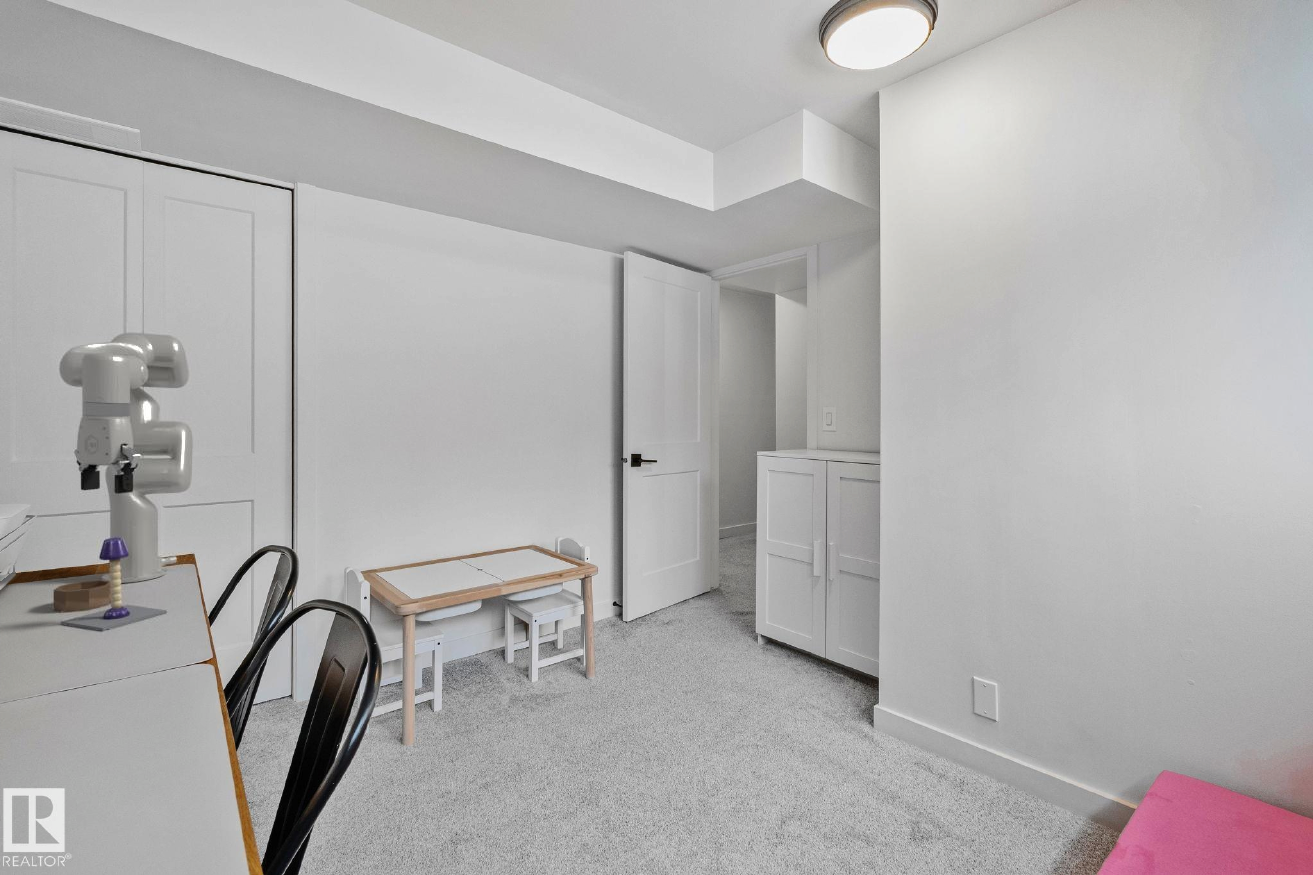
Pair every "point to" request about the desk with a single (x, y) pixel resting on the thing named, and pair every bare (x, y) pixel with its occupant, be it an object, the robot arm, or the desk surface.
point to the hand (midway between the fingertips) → (107, 491)
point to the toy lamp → (115, 575)
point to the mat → (103, 624)
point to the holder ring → (82, 596)
